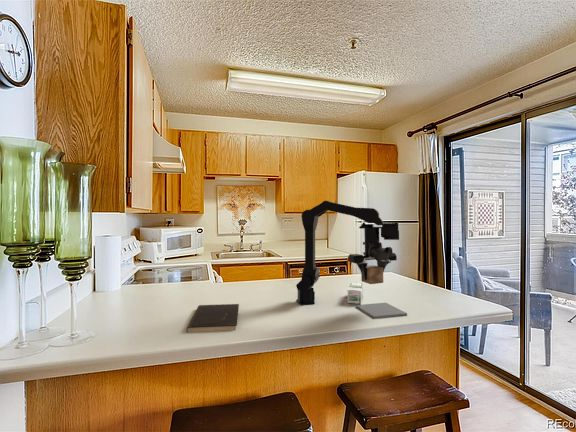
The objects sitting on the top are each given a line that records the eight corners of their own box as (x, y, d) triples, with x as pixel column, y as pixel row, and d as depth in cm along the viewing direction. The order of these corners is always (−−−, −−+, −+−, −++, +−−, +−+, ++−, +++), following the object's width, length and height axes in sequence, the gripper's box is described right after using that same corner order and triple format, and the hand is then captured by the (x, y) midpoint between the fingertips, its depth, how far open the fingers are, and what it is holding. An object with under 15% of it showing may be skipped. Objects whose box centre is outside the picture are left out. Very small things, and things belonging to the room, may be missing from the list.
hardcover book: (238, 309, 123) (238, 303, 123) (236, 331, 100) (236, 324, 100) (197, 311, 121) (197, 305, 121) (186, 334, 98) (186, 326, 98)
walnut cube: (370, 284, 118) (370, 268, 118) (361, 281, 123) (361, 266, 123) (383, 282, 120) (383, 267, 120) (373, 279, 125) (373, 265, 125)
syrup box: (350, 294, 144) (347, 303, 130) (350, 282, 144) (347, 290, 130) (363, 295, 142) (361, 305, 128) (363, 282, 142) (361, 291, 128)
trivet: (374, 318, 112) (374, 316, 112) (355, 307, 125) (355, 305, 125) (407, 315, 115) (407, 313, 115) (385, 304, 129) (385, 302, 129)
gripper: (360, 242, 111) (361, 285, 111) (405, 240, 116) (406, 281, 116) (346, 240, 122) (347, 279, 122) (388, 238, 127) (388, 275, 127)
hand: (372, 279), depth 121 cm, fingers closed on walnut cube, 6 cm apart
